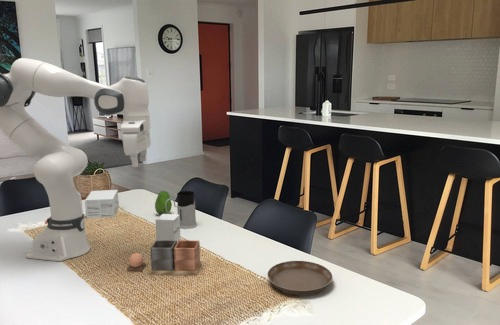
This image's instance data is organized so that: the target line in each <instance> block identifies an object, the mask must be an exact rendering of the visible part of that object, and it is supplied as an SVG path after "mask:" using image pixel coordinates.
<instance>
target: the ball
mask: <svg viewBox="0 0 500 325" xmlns="http://www.w3.org/2000/svg"><path fill="white" fill-rule="evenodd" d="M144 260H145V259H144V257H143V255H142V254H141V253H137V252H136V253H132V254H130V256H129V258H128V264H129V265H131V266H132V267H133V268H140V266H141V265H142V264H143V263H144Z"/></svg>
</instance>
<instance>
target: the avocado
mask: <svg viewBox="0 0 500 325" xmlns="http://www.w3.org/2000/svg"><path fill="white" fill-rule="evenodd" d="M168 199H170V200H168ZM171 199H172V198H171V197H170V194H169V192H167V191H165V190H160V191H159V193H158V195H157V197H156V199H155V203H154V210H155V212H156V213H157V214H158V215H159V216H161V215H162V214H168V213H169V214H170V212H171V210H172V205H173V203H172V200H171ZM167 200H168V201H167ZM166 201H167V203H166V207H167V211H168V213H167V211H166V208H165V202H166Z"/></svg>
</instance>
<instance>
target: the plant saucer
mask: <svg viewBox="0 0 500 325" xmlns="http://www.w3.org/2000/svg"><path fill="white" fill-rule="evenodd" d="M267 278H268V280H269V282H270V283H271V284H272V285H273V286H274V287H275V288H276V289H278V290H279V291H281V292H283V293H286V294H289V295H293V296H311V295H314V294H318V293H320V292H322V291H323V290H325V289H326V288H327V287H328V286H329V285H330V284H331V283H332V280H333V274H332V272H331V271H330V270H329V269H328V268H327V267H326V266H324V265H321V264H319V263H316V262H312V261H307V260H289V261H283V262H280V263H276V264H274V265H273V266H272V267H271V268H269V270H268V271H267Z"/></svg>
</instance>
